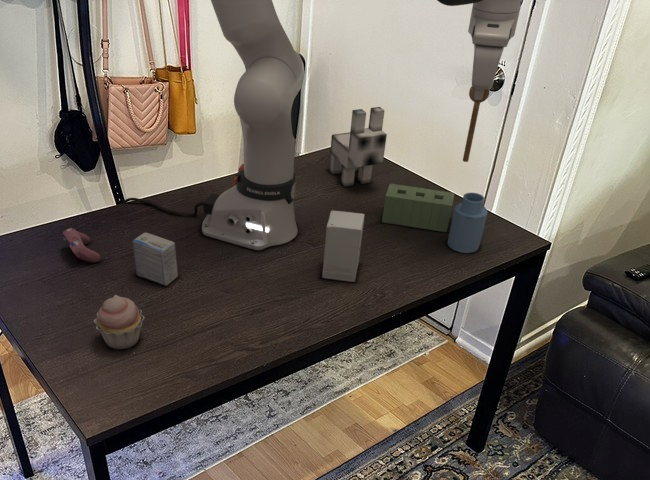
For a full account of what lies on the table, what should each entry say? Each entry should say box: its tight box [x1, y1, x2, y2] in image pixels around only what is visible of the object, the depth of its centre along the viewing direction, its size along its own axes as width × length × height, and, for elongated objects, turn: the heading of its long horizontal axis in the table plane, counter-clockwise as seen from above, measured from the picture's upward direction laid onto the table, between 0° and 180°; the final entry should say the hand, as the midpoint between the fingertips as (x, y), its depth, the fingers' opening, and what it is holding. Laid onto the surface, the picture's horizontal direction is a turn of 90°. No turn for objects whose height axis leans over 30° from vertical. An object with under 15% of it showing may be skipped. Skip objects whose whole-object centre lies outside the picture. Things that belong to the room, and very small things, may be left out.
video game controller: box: [62, 227, 101, 263], centre depth 154 cm, size 10×5×7 cm, turn 27°
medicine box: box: [132, 231, 179, 287], centre depth 147 cm, size 8×4×9 cm, turn 59°
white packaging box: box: [321, 210, 366, 283], centre depth 149 cm, size 7×7×13 cm
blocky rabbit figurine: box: [328, 106, 388, 187], centre depth 181 cm, size 8×18×20 cm, turn 22°
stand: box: [381, 183, 455, 233], centre depth 169 cm, size 16×7×7 cm, turn 75°
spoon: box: [462, 85, 490, 163], centre depth 148 cm, size 4×1×17 cm, turn 75°
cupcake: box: [93, 294, 145, 350], centre depth 130 cm, size 9×9×10 cm
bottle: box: [447, 192, 489, 254], centre depth 159 cm, size 7×7×12 cm
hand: (478, 96), depth 145 cm, fingers closed on spoon, 1 cm apart
